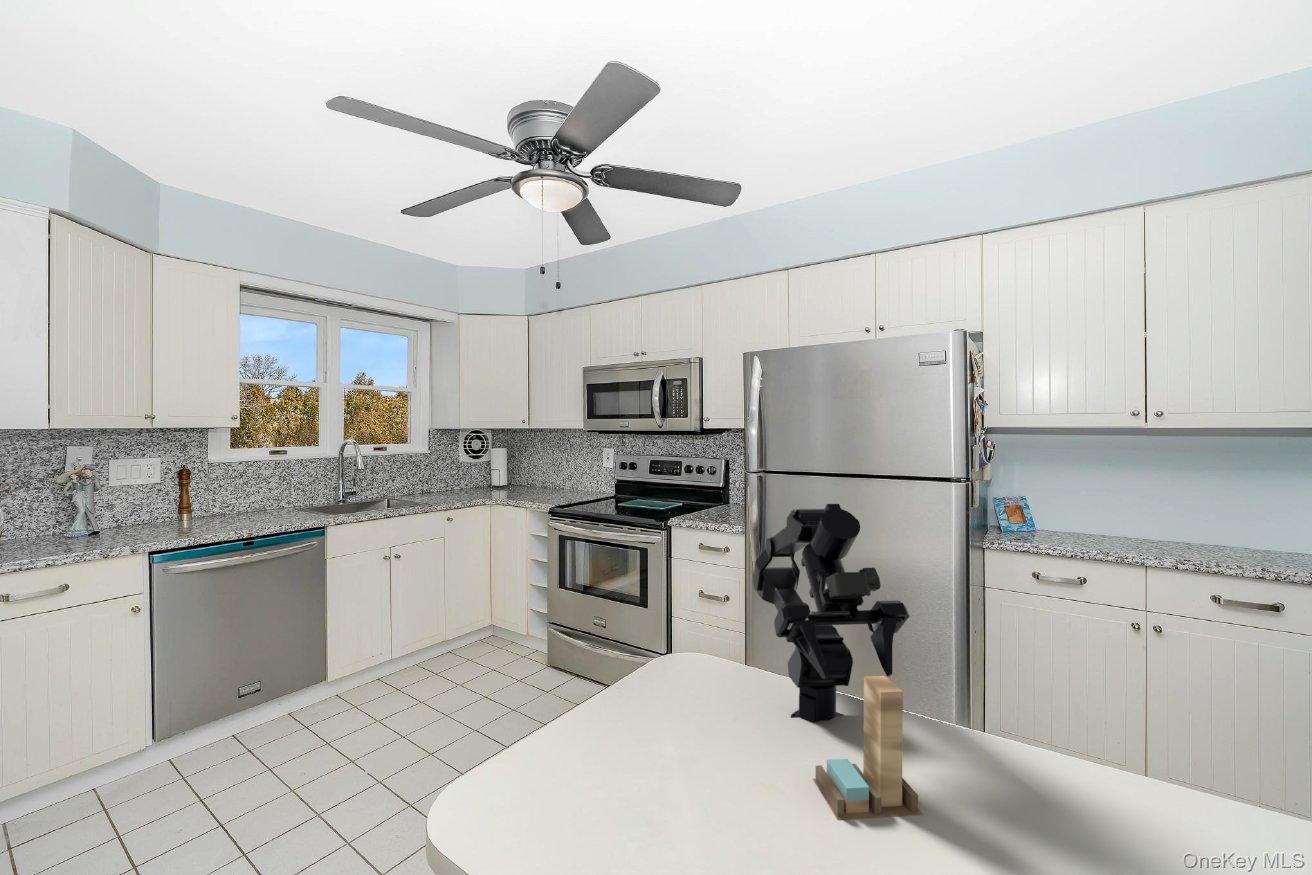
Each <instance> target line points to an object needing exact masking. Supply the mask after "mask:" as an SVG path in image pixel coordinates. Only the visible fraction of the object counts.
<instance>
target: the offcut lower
mask: <svg viewBox="0 0 1312 875" xmlns="http://www.w3.org/2000/svg"><path fill="white" fill-rule="evenodd" d="M826 773H827V774H828V772H827V771H826ZM828 776H829V777H830V775H829V774H828ZM830 779H831V780H832V778H831V777H830ZM832 782H833V784H834V785H835V787H836V788H837V790H838V791H839V789H838V787H837V786H836V784H835V783H834V781H833V780H832ZM839 793H840V794H841V792H840V791H839ZM841 796H842V797H843V795H842V794H841ZM843 799H844V811H845V812H846V813H860V812H869V800H853V801H846V800H845V798H844V797H843Z"/></svg>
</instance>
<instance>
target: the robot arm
mask: <svg viewBox="0 0 1312 875" xmlns="http://www.w3.org/2000/svg"><path fill="white" fill-rule="evenodd" d="M860 531H861V523H860V521H859V519H857V518H856V517H855V515H853V514H852V513H851V512H849V511H847V510H845V509H842V507H841V505H840V503H826V505H825V507H824V508H795V509H794V508H793V509H792V510H791V511H790V513H789V514H788V516H787V517H786V526H785V527H784V528H782V529H781V530H779V532H777V533H775V534H774V535H773V536H770V537H767V538H766V541H765V549H764V550H763V551H762V553H760V555H759V556H758V558H756V560H755V562H754V569H753V570H754V571H753V577H752V578H753V580H752V582H753V588H754V591H755V592H756V593H757V595H758V597H760V598H761V600H762V601H764V602H765V603H766V602H767V603H769V604H771V605H774V607H775V609H776V610H777V614H776V615H775V617H774V631H775V635H776V637H778V638H785V640H786V642H787V643H792V644H793V645H794V646H795V647H794V651H793V652H792V654H791V656H790V658H789V659H788V661H787V670H788V672H787V674H788V678H790V680H791V681H792V682H793V684H794V685H795V686H796V688H798V689H799V690H798V692H799V693H798V709H797V710H796V711H794V712H793V713H791V714H790V718H791V719H798V718H800V719H802V720H805V721H807V722H809V723H812V724H815V723H820V722H825V721H826V722H827V721H831V720H833V719H835V718H836V717H841V716H843V717H845V714H843V713H840V712H838V711H837V687H838V686H839V687H840V686H842V687H843V686H844V687H849V685H850V680H851V675H852V670H853V664H854V661H853V659H854V658H853V656H852V652H851V650H850V649H849V647H847V644H845V642H844V637H843V636H841V635H840V633H839V632H838V630H837V628H836V627H835V626H838V625H839V626H841V625H867V627H868V630H869V631H870V632H871V633H872V634H871V635H870V641H871V643H872V645H873V648H874V650H875V653H876V656H877V657H878V660H879V662H880V665H881V668H882V670H883V672H884V674H885V676H886V677H887V678H888V677H891V676H892V675H893V641H894V635H895V634H896V633H898V631H899V630H900V629H901V628H902V627H903V625H904V624H905V622H907V621H908V619H909V618H910V614H909V610H908V609H907V607H906V605H905V603H904V602H902V601H901V600H876V602H875V603H874V605H873V606H872V608H870V609H865V610H862V609H861V610H860V609H858V607H859V606H862V605H863V603H864V597H866V596H867V597H869V596H871V595H872V594H871V592H876V591H878V590H880V588H881V585H882V584H881V580H880V576H879V574H878V572H877V569H876V567H864V568H862V569H858V570H859V571H852V572H851V571H849V572H847V571H845V567H844V564H843V561H842V560H843V559H844V558H846V557H847V556H848V555H849V551H850V550H851V548H852V546H853V545H854V544H855V540H856V539H857V537H858V535H859V534H860ZM802 549H803V550H802ZM800 550H802V552H801V567H804V569H805V572H806V576H807V579H808V582H809V586H810V589H809V592H808V593H809V597H810V598H813V600H814V603H815V607H816V610H817V611H811V609H810V605H809V604H808V603H806V602H804V601H803V600H802V598H801V596H800V595H799V594H798V592H797V589H798V585H799V580H800V574H801V571H800V568H799V566H798V565H797V563H796V561H795V553H796V552H798V551H800ZM785 557H786V558H790V560H791V567H790V566H784V567H778V566H775V567H772V566H771V567H768V566H769V564H771V562H772V560H773V558H785Z"/></svg>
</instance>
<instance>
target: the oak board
mask: <svg viewBox="0 0 1312 875" xmlns="http://www.w3.org/2000/svg"><path fill="white" fill-rule="evenodd" d="M903 709H904V691H903V690H902V689H901V688H900V687H899V686H898V685H896V684H895V683H894V682H893V681H891V679H890V678H888V676H887V675H872V676H870V675H869V676H865V675H864V676H863V753H862V754H863V766H862V767H863V768H862V769H863V772H862V773H863V774H864V776H865V777H866V778H867V779H868V781H869V782H870V783H871V785H872V786H873V787H874V789H875V790H876V791H877V792H878V794H879V795H880V796H881V807H890V806H902V777H903V753H904V752H903V751H904V750H903V745H904V743H903V738H904V737H903V736H904V735H903V732H904V730H903V726H904V725H903V724H904V723H903V722H904V721H903V719H904V717H903V716H904V714H903V712H904V710H903Z"/></svg>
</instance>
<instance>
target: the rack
mask: <svg viewBox="0 0 1312 875" xmlns="http://www.w3.org/2000/svg"><path fill="white" fill-rule="evenodd" d="M851 764H852V765H853V767H854V768H855V769H856V771H857V772H858V773H859V775H860V776H861V777H862V779H863V780H864V781H865V782H866V784H867V785H868V786H869V812H860V813H846V812H845V811H844V799H843V797H842V796H841V794H840V793H839V791H838V790H837V788H836V787H835V785H834V784H833V782H832V780H831V779H830V777H829V776H828V774H827V770H825V769H824V766H822V765H815V778H812V781H813V782H814V784H815V786H816V788H818V790H819V792H820V794H821V795H822V797H823V799H824V800H825V802H826V803H827V805H828V808H830V811H831V812H832V813H833V815H834V817H835V818H836V820H837V821H846V820H860V819H861V820H863V819H878V818H880V819H881V818H893V817H895V818H896V817H897V818H898V817H912V816H922V815H923V816H924V813H923V812H922V811H921V810H920V809H919V795H918V793H917V792H916V791H915V790H914V789H913V788H912V786H911V785H910V784H909V783H908V781H906V779H905V778H903V776H902V806H890V807H881V796H880V795H879V794H878V792H877V791H876V790H875V789H874V787H873V786H872V785H871V783H870V782H869V781H868V779H867V778H866V777H865V776H864V774H863V772H862V771H861V769H860V767H859V766H858V765H857V764H856V763H851Z"/></svg>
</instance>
